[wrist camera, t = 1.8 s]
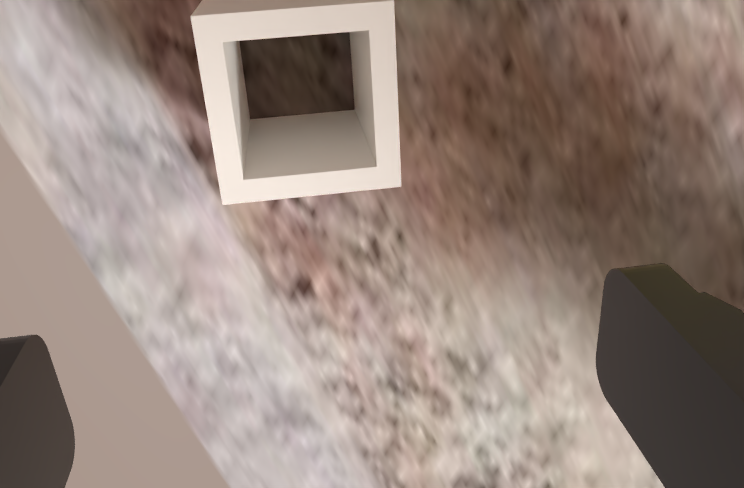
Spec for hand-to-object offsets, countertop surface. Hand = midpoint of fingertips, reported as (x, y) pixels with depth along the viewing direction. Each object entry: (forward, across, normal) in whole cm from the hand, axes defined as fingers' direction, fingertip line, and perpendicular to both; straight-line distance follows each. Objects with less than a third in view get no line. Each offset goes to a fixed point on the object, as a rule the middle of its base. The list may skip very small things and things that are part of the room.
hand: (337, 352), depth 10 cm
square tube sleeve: (+20, 0, 0) cm, 20 cm away
